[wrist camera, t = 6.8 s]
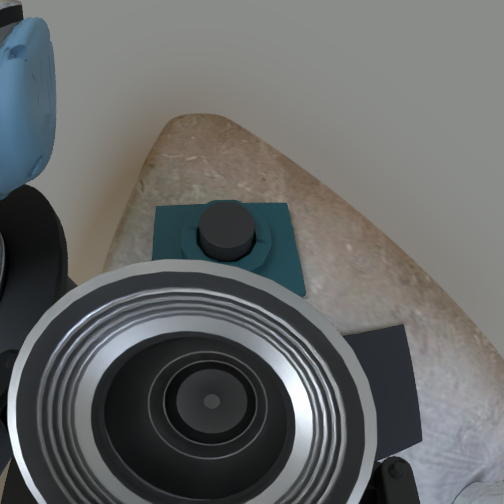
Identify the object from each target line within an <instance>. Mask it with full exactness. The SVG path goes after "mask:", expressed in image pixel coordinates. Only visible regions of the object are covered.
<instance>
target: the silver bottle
mask: <svg viewBox="0 0 504 504" xmlns="http://www.w3.org/2000/svg"><path fill="white" fill-rule="evenodd" d="M8 429H9V434H10V439H11V444H12V448H13V453H14V456H15V459H16V462H17V464H18V466H19V469H20V471H21V474H22V476H23V478H24V480H25V483H26V485H27V487H28V488H29V490H30V491H31V493H32V494H33V496H34V497H35V499H36V500H37V502H38V503H39V504H358V503H359V501H360V499H361V497H362V495H363V493H364V490H365V488H366V486H367V484H368V481H369V479H370V477H371V472H372V468H373V463H374V458H375V453H376V448H377V419H376V409H375V405H374V401H373V397H372V393H371V389H370V386H369V382H368V379H367V377H366V375H365V373H364V371H363V369H362V367H361V365H360V363H359V361H358V359H357V357H356V355H355V353H354V351H353V349H352V348H351V347H350V346H349V344H348V343H347V342H346V340H345V339H344V338H343V337H342V335H341V334H340V333H339V332H338V330H337V329H336V328H335V327H334V325H333V324H332V323H331V322H330V321H329V320H328V319H327V318H326V317H324V316H323V315H322V314H321V313H320V312H319V311H317V310H316V309H315V308H314V307H313V306H312V305H310V304H309V303H308V302H307V301H306V300H305V299H303V298H302V297H300V296H298V295H297V294H295V293H293V292H291V291H290V290H288V289H286V288H285V287H283V286H281V285H280V284H278V283H276V282H274V281H273V280H270V279H268V278H265V277H262V276H260V275H257V274H254V273H252V272H249V271H246V270H244V269H241V268H239V267H234V266H229V265H224V264H219V263H214V262H209V261H203V260H178V259H163V260H156V261H149V262H142V263H135V264H129V265H126V266H123V267H120V268H117V269H114V270H112V271H109V272H106V273H103V274H100V275H97V276H95V277H94V278H92V279H90V280H89V281H86V282H85V283H83V284H81V285H79V286H78V287H76V288H74V289H72V290H71V291H69V292H68V293H67V294H66V295H64V296H63V297H62V298H61V299H60V300H59V301H57V302H56V303H55V304H54V305H53V306H52V307H51V308H49V309H48V310H47V311H46V312H45V313H44V315H43V316H42V317H41V318H40V320H39V321H38V322H37V324H36V325H35V326H34V328H33V329H32V330H31V332H30V333H29V334H28V336H27V338H26V340H25V342H24V344H23V346H22V348H21V350H20V352H19V355H18V357H17V359H16V361H15V364H14V367H13V372H12V376H11V381H10V385H9V390H8Z"/></svg>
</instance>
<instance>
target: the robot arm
mask: <svg viewBox="0 0 504 504" xmlns="http://www.w3.org/2000/svg"><path fill="white" fill-rule="evenodd" d="M55 128H56V80H55V65H54V54H53V47H52V42H51V41H50V33H49V29H48V26H47V24H46V22H45V21H44V20H43V19H42V18H37V17H36V18H31V17H29V18H26V19H23V11H22V3H21V1H18V0H0V200H2V199H4V198H5V197H7V196H8V195H9V193H10V192H11V191H13V190H14V189H16V188H18V187H20V186H21V185H23V184H25V183H27V182H29V181H31V180H33V179H34V178H36V177H37V176H38V175H39V174H40V173H41V172H42V171H43V170H44V169H45V167H46V165H47V163H48V162H49V159H50V156H51V154H52V150H53V145H54V139H55ZM8 270H9V250H8V245H7V241H6V239H5V237H4V235H3V234H2V232H1V231H0V302H1V299H2V296H3V293H4V290H5V286H6V282H7V277H8ZM19 352H20V351H19V350H13V349H11V350H7V351H4V352H3V353H1V354H0V475H1V473H2V472H3V470H4V468H5V467H6V465H7V464H8V462H9V460H10V459H11V457H12V459H11V463H10V466H9V470H8V474H7V478H6V482H5V486H4V491H3V495H2V500H1V504H39V503H38V502H37V500H36V499H35V497H34V496H33V494H32V493H31V491H30V490H29V488H28V487H27V485H26V483H25V480H24V478H23V476H22V474H21V471H20V469H19V466H18V464H17V462H16V459H15V456H14V453H13V448H12V444H11V439H10V434H9V429H8V390H9V385H10V381H11V376H12V372H13V367H14V364H15V361H16V359H17V357H18V355H19ZM358 504H420V500H419V496H418V492H417V487H416V483H415V479H414V475H413V471H412V468H411V466H410V464H409V463H408V462H407V461H406V460H404V459H402V458H400V457H396V456H393V457H388V458H387V459H385V460H384V461H383V462H382V463H380V462H377V461H374V463H373V468H372V472H371V477H370V479H369V481H368V484H367V486H366V488H365V490H364V493H363V495H362V497H361V499H360V501H359V503H358Z"/></svg>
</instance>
